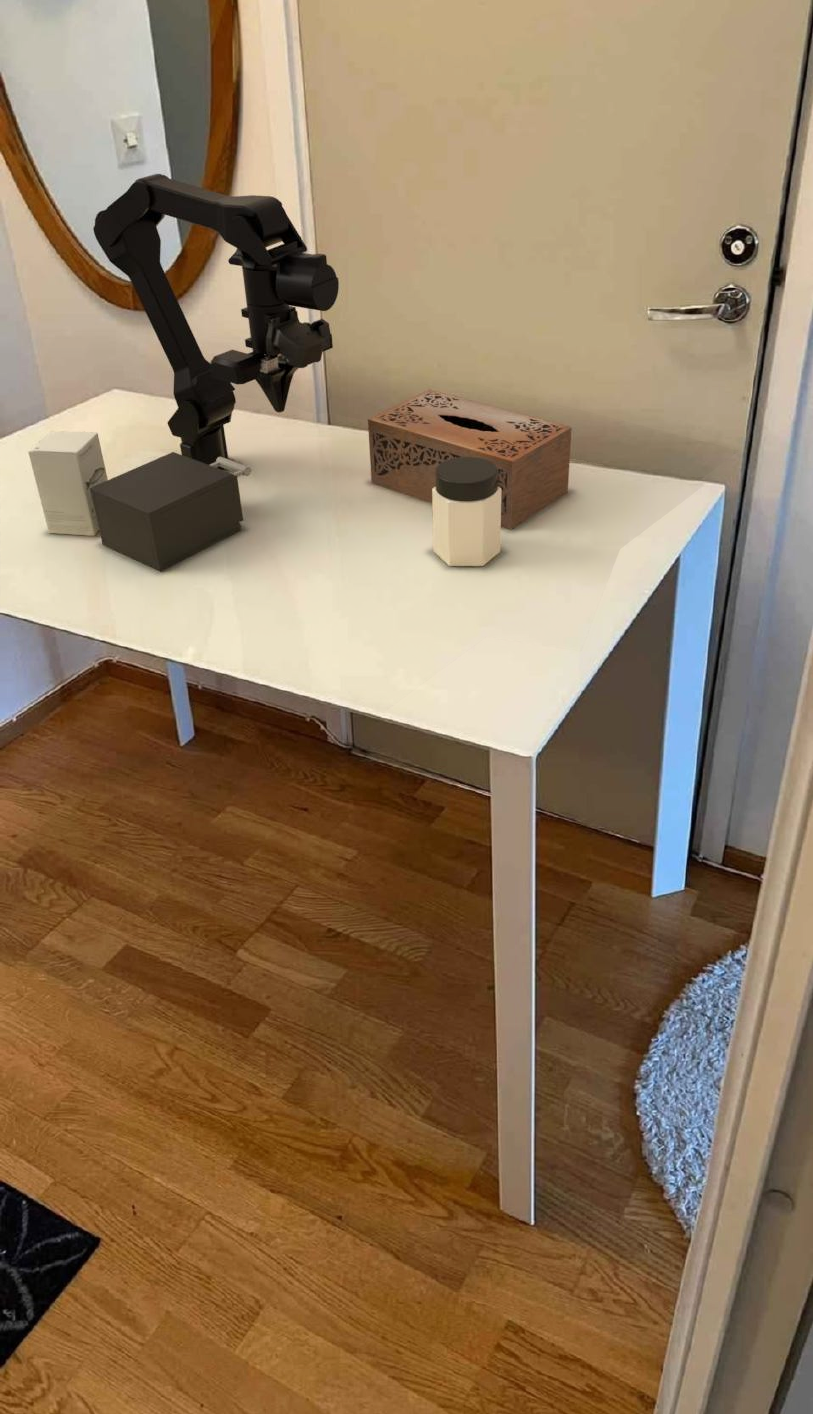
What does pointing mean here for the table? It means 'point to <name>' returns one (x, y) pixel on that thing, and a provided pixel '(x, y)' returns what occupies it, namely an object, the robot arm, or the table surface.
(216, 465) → the dark brown drawer
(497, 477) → the jar
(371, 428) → the tissue box cover
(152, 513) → the brown drawer box
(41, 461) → the white packaging box
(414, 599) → the table surface
